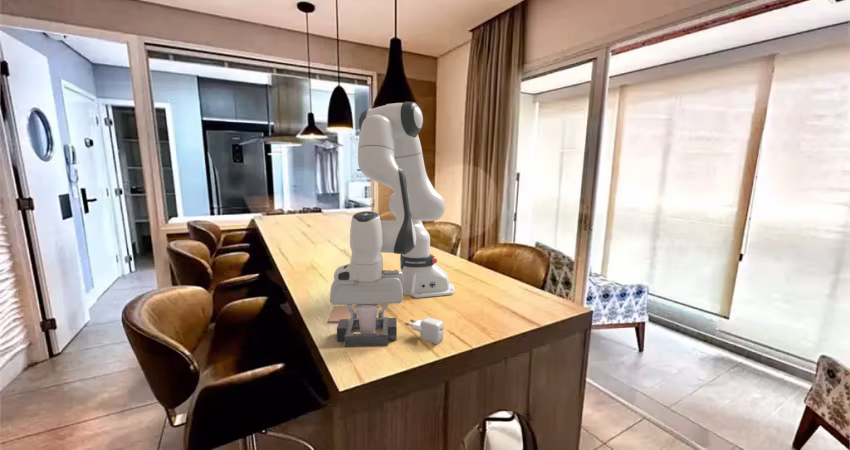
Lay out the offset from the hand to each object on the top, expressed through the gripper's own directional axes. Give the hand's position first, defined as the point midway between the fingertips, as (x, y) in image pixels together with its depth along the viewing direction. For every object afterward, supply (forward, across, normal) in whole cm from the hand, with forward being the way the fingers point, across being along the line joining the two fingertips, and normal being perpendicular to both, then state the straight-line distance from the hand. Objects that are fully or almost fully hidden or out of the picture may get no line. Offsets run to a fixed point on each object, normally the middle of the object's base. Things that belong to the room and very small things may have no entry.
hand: (367, 317), depth 102 cm
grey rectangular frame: (+6, 0, 0) cm, 6 cm away
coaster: (+6, +7, -15) cm, 17 cm away
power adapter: (+6, -16, +2) cm, 17 cm away
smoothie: (+6, 0, 0) cm, 6 cm away
